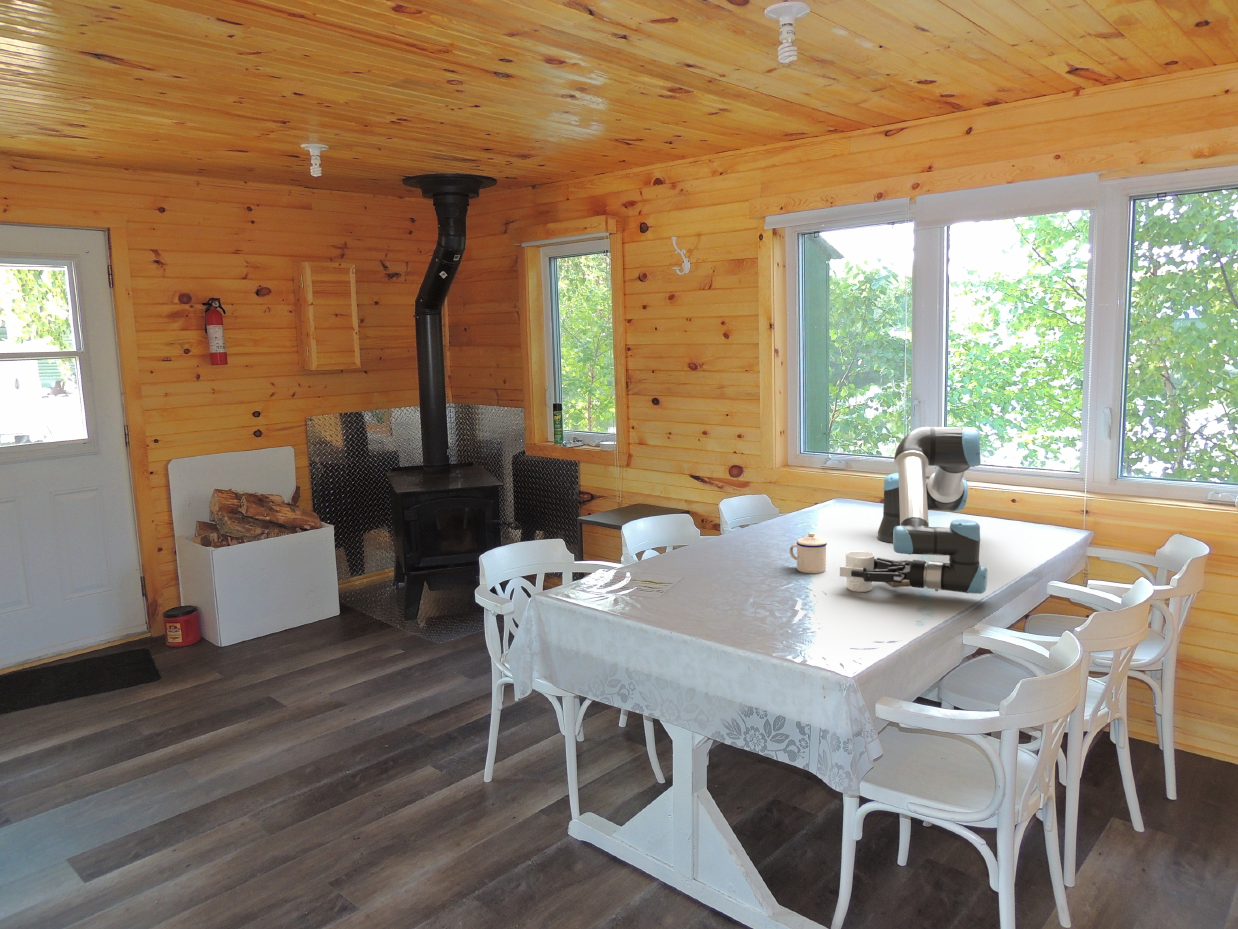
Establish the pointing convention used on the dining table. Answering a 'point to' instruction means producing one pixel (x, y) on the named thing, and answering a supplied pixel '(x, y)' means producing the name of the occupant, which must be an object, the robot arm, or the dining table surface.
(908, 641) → the dining table surface
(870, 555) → the white cup
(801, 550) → the teacup with lid
